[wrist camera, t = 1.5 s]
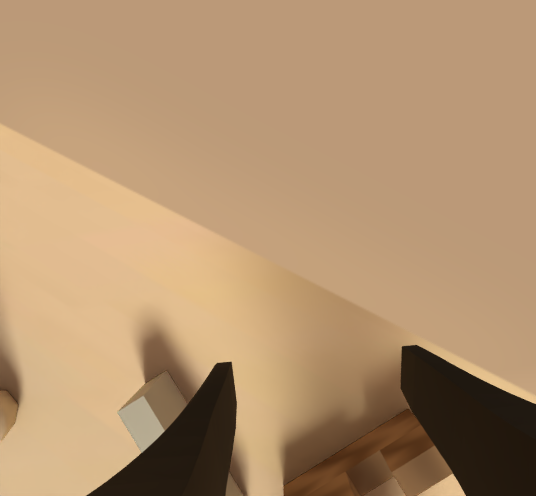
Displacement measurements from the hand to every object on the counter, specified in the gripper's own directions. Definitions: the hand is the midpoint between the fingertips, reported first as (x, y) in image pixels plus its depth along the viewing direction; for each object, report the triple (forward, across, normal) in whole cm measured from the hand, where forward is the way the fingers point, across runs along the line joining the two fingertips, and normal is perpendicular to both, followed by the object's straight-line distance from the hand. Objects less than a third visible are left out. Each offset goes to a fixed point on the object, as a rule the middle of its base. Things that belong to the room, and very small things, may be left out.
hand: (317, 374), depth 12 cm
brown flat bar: (+11, -5, +18) cm, 22 cm away
